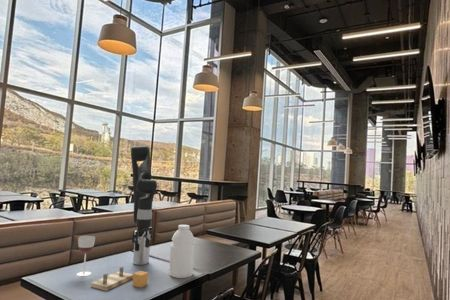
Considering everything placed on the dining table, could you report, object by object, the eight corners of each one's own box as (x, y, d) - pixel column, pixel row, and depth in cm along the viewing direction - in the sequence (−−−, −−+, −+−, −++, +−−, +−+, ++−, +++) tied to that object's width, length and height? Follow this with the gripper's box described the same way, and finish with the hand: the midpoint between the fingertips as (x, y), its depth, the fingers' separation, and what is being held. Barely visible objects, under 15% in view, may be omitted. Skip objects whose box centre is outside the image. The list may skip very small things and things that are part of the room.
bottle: (176, 280, 169) (179, 228, 171) (164, 272, 179) (167, 224, 181) (197, 275, 178) (200, 226, 179) (184, 268, 188) (187, 222, 190)
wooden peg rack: (118, 274, 171) (119, 263, 172) (133, 278, 168) (133, 267, 168) (90, 286, 153) (91, 274, 153) (106, 290, 149) (107, 278, 150)
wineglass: (75, 271, 172) (79, 235, 174) (92, 270, 175) (95, 235, 177) (74, 276, 165) (77, 239, 166) (92, 275, 168) (95, 238, 169)
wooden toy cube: (138, 282, 162) (139, 270, 163) (147, 284, 160) (148, 272, 161) (132, 285, 157) (133, 273, 158) (141, 287, 156) (141, 275, 156)
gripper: (146, 215, 169) (144, 245, 168) (129, 218, 156) (127, 251, 155) (158, 216, 166) (156, 247, 165) (141, 220, 153) (139, 253, 152)
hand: (142, 249), depth 160 cm, fingers open, 8 cm apart
